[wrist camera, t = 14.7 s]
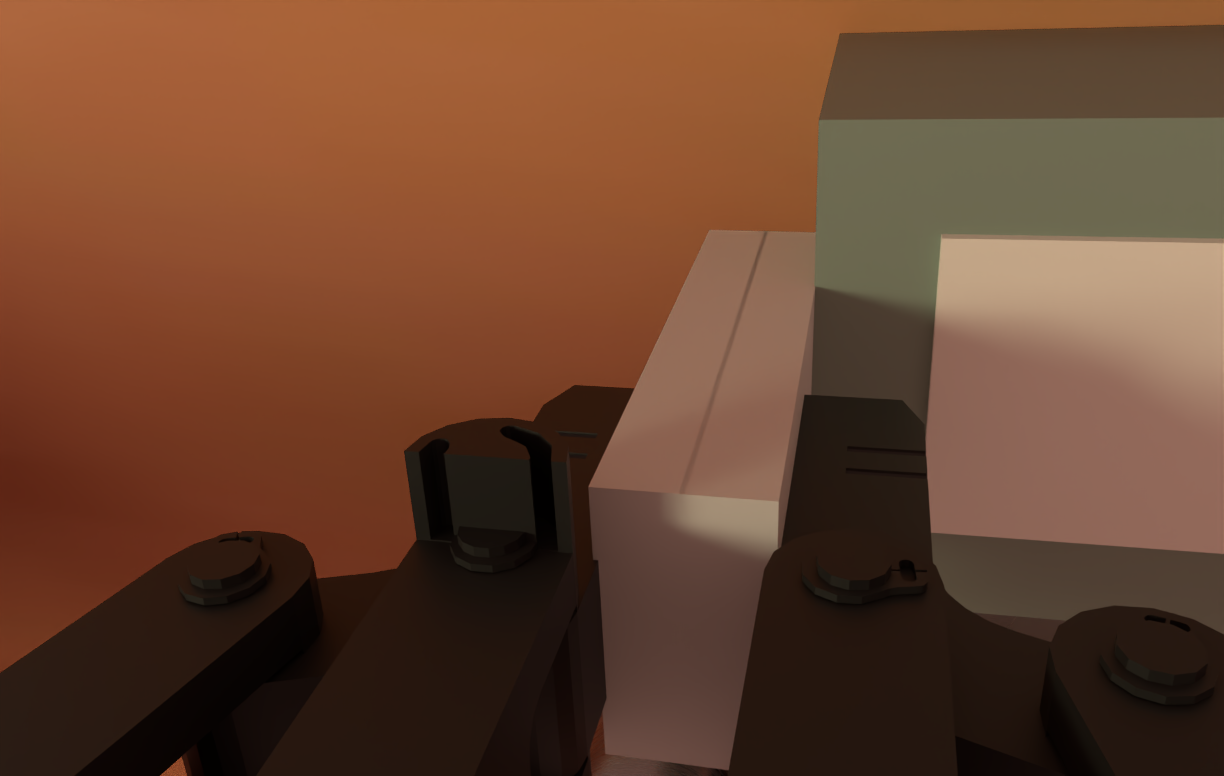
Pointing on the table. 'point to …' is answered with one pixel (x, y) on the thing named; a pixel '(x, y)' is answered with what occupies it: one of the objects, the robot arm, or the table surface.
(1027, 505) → the panel
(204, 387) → the table surface
